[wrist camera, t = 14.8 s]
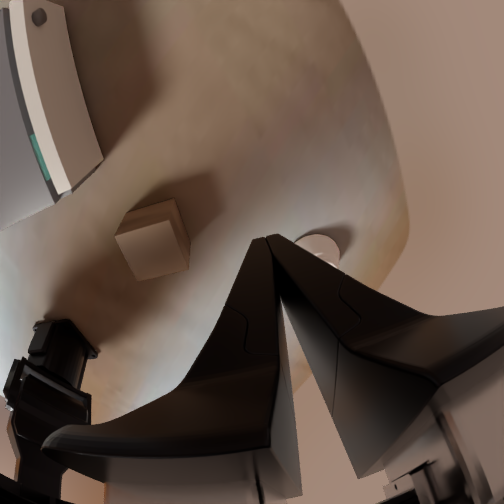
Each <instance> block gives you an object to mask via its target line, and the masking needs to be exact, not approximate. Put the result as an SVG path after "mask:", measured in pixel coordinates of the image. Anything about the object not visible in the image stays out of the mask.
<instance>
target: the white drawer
mask: <svg viewBox="0 0 504 504" xmlns="http://www.w3.org/2000/svg"><path fill="white" fill-rule="evenodd" d="M9 10H10V22H11V31H12V39H13V46H14V52H15V58H16V63H17V69H18V73H19V78H20V82H21V87H22V91H23V95H24V99H25V103H26V106H27V110H28V113H29V117H30V120H31V123H32V126H33V130H34V133H35V136H36V139H37V142H38V145H39V147H40V150H41V153H42V156H43V158H44V161H45V164H46V166H47V169H48V171H49V174H50V176H51V179H52V181H53V184H54V186H55V188H56V191H57V193H58V195H59V194H61V193H63V192H65V191H67V190H70V189H72V188H73V187H74V186H75V185H76V184H77V183H78V182H79V181H80V180H81V179H82V178H83V177H85V176H86V175H87V174H88V173H89V172H90V171H91V170H92V169H93V168H95V167H96V166H97V165H98V164H99V163H100V162H101V161H103V160H104V159H103V156H102V153H101V150H100V147H99V144H98V142H97V139H96V136H95V133H94V130H93V127H92V123H91V120H90V117H89V114H88V111H87V107H86V104H85V101H84V97H83V94H82V90H81V86H80V83H79V79H78V75H77V71H76V67H75V63H74V59H73V54H72V50H71V45H70V40H69V35H68V30H67V25H66V19H65V13H64V7H63V6H60V5H58V4H55V3H52V2H50V1H47V0H12V1H11V2H9Z"/></svg>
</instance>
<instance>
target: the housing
mask: <svg viewBox="0 0 504 504" xmlns="http://www.w3.org/2000/svg"><path fill="white" fill-rule="evenodd" d="M95 171H96V169H95V168H93V169H92V170H91V171H90V172H89V173H88V174H87V175H86V176H85V177H83V178H82V179H81V180H80V181H79V182H78V183H77V184H76V185H75V186H74V187H73V188H72V189H70V190H67V191H65V192H63V193H61V194H59V195H58V193H57V191H56V188H55V186H54V184H53V181H52V179H51V176H50V174H49V171H48V169H47V166H46V164H45V161H44V158H43V156H42V153H41V150H40V147H39V145H38V142H37V139H36V136H35V133H34V130H33V126H32V123H31V120H30V117H29V113H28V110H27V106H26V103H25V99H24V95H23V91H22V87H21V82H20V78H19V73H18V69H17V63H16V58H15V52H14V46H13V39H12V31H11V22H10V10H9V9H8V8H2V9H1V10H0V231H2V230H4V229H6V228H8V227H9V226H11V225H13V224H15V223H17V222H19V221H21V220H23V219H25V218H27V217H29V216H31V215H33V214H35V213H37V212H39V211H41V210H43V209H45V208H47V207H50V206H52V205H54V204H55V203H56V202H57V201H58V200H59V199H61V198H63V197H65V196H67V195H70V194H72V193H73V192H74V191H75V190H76V189H77V188H78V187H79V186H80V185H81V184H82V183H83V182H84V181H85V180H86V179H87V178H88V177H89V176H91V175H92V174H93V173H94V172H95Z"/></svg>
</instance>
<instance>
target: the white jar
mask: <svg viewBox="0 0 504 504" xmlns="http://www.w3.org/2000/svg"><path fill="white" fill-rule="evenodd" d="M295 244H297V245H298V246H300V247H302V248H304V249H305V250H307V251H309V252H310V253H312V254H314V255H315V256H317V257H319V258H320V259H322V260H324V261H325V262H327V263H329V264H330V265H332V266H334V267H335V268H337V269H339V255H340V251H339V249H338V247H337V245H336V243H335V241H334V240H332V239H331V238H329V237H328V236H325V235H319V234H314V235H309V236H305V237H303V238H301V239H300V240H298V241H296V242H295Z"/></svg>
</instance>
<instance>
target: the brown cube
mask: <svg viewBox="0 0 504 504" xmlns="http://www.w3.org/2000/svg"><path fill="white" fill-rule="evenodd" d="M114 237H115V239H116V241H117V243H118V245H119V247H120V249H121V251H122V253H123V255H124V257H125V259H126V261H127V263H128V265H129V267H130V269H131V271H132V272H133V274H134V276H135V278H136V280H137V282H140V281H144V280H148V279H152V278H156V277H160V276H165V275H169V274H173V273H177V272H181V271H185V270H189V256H190V240H189V238H188V235H187V232H186V230H185V227H184V224H183V221H182V218H181V216H180V213H179V210H178V207H177V204H176V201H175V199H170V200H167V201H163V202H160V203H157V204H153V205H150V206H147V207H144V208H140V209H137V210H134V211H131V212H128V213H126V214H125V216H124V218H123V220H122V222H121V224H120V226H119V228H118V230H117V232H116V234H115V236H114Z"/></svg>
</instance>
